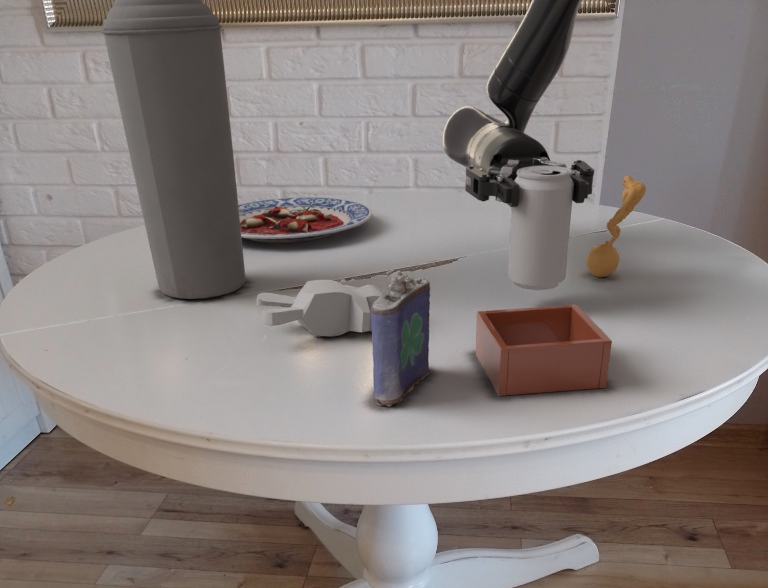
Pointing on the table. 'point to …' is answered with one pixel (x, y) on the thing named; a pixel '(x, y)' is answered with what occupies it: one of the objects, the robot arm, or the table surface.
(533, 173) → the beverage can
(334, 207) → the ceramic plate
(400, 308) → the flask
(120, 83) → the canister
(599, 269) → the figurine
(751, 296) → the table surface
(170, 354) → the table surface
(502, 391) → the box
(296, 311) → the bunny figurine
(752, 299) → the table surface
